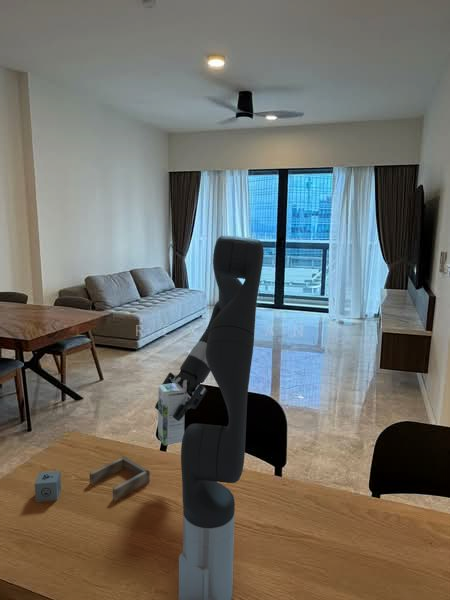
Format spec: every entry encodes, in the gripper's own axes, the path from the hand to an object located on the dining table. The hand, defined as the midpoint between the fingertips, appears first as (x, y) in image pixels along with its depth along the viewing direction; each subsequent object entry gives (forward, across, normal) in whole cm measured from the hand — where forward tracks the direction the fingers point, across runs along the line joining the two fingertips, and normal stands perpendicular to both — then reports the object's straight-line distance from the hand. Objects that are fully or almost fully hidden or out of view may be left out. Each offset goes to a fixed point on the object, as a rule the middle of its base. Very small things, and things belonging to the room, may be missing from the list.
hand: (166, 414), depth 112 cm
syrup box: (+4, 0, +6) cm, 8 cm away
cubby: (+20, -8, +7) cm, 23 cm away
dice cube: (+31, -16, -4) cm, 35 cm away
